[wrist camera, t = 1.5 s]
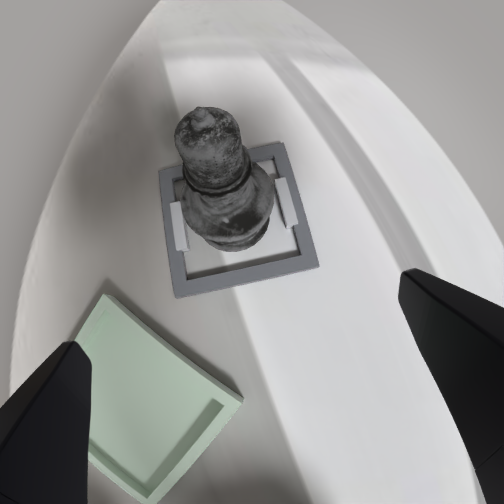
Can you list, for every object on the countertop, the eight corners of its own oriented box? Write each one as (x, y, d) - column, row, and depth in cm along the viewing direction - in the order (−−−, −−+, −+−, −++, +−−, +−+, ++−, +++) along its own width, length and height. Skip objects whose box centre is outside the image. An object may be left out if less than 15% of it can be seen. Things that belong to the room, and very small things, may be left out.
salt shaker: (215, 170, 23) (175, 52, 12) (286, 196, 23) (297, 77, 11) (179, 237, 22) (100, 150, 11) (253, 269, 21) (234, 197, 10)
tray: (244, 398, 19) (242, 403, 18) (157, 501, 17) (151, 509, 16) (113, 295, 21) (103, 293, 20) (48, 404, 19) (37, 407, 18)
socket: (318, 267, 21) (320, 265, 20) (177, 298, 21) (173, 297, 20) (283, 145, 24) (283, 140, 23) (160, 174, 24) (157, 169, 23)
